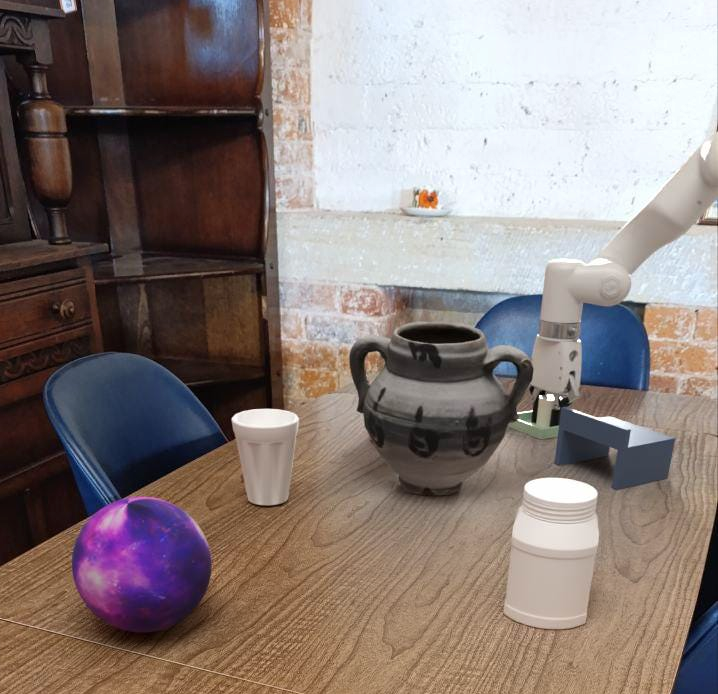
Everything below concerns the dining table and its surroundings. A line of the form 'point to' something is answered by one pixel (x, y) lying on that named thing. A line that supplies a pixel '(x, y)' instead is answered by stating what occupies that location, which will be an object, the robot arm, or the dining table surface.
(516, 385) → the ceramic pot
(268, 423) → the cup
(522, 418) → the tray
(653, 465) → the stand
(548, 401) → the canister
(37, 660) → the dining table surface
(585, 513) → the jar
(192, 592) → the decorative orb
